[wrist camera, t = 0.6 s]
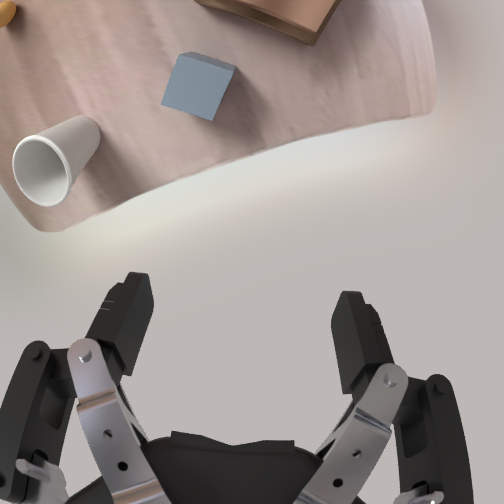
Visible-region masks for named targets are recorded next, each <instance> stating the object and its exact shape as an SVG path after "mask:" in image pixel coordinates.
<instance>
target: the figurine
mask: <svg viewBox="0 0 504 504" xmlns="http://www.w3.org/2000/svg"><path fill="white" fill-rule="evenodd" d="M15 12H16V5H15V4H14V2H12V1H4V2H2V3H0V28H1V27H3V26H5V25H7V24H8V23H9V22H10V21H11V20H12V19H13V17H14V15H15Z"/></svg>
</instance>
